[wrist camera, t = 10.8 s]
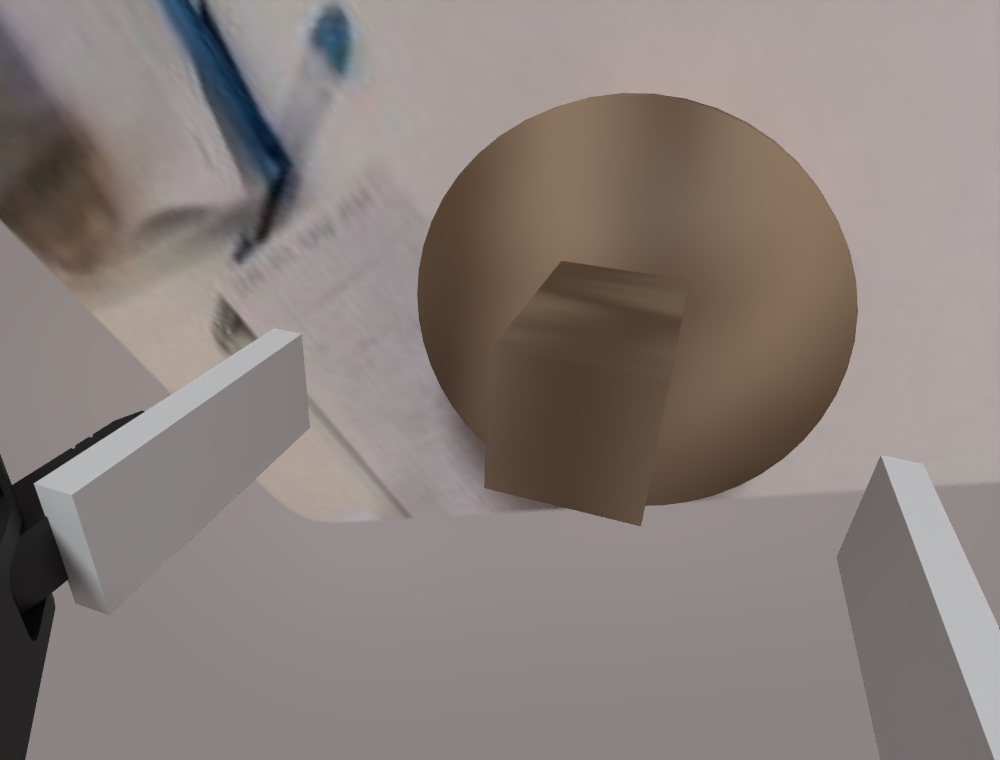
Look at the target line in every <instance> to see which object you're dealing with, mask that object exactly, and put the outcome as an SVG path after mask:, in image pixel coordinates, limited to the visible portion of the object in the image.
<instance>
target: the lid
mask: <svg viewBox="0 0 1000 760" xmlns="http://www.w3.org/2000/svg"><path fill="white" fill-rule="evenodd" d="M417 296H418V311H419V321H420V326H421V332H422V337H423V342H424V345H425V348H426V351H427V355H428V358H429V361H430V364H431V366H432V369H433V371H434V373H435V375H436V377H437V379H438V382H439V384H440V386H441V388H442V390H443V391H444V393H445V394H446V396H447V398H448V399H449V401H450V403H451V404H452V406H453V408H454V409H455V410H456V411H457V413H458V414H459V415H460V417H461V418H462V419H463V421H464V422H465V423H466V424H467V426H468V427H469V428H470V429H471V430H472V431H473V432H474V433H475V434H476V435H477V436H478V437H479V438H480V439H481V440H482V441H483V442H484V443H485V444H486V445H487V448H486V466H485V485H484V488H487V489H491V490H495V491H499V492H504V493H508V494H512V495H516V496H520V497H524V498H528V499H532V500H536V501H540V502H544V503H548V504H552V505H557V506H561V507H565V508H569V509H573V510H577V511H582V512H585V513H590V514H593V515H597V516H601V517H606V518H610V519H614V520H618V521H622V522H626V523H630V524H634V525H638V526H641V522H642V518H643V513H644V507H645V506H647V505H667V504H675V503H682V502H689V501H693V500H697V499H701V498H705V497H709V496H713V495H716V494H718V493H721V492H724V491H726V490H729V489H731V488H734V487H737V486H739V485H741V484H743V483H745V482H747V481H749V480H750V479H752V478H754V477H756V476H758V475H760V474H762V473H763V472H765V471H766V470H768V469H769V468H770V467H772V466H773V465H775V464H776V463H778V462H779V461H780V460H782V459H783V458H784V457H786V456H787V455H788V454H789V453H790V452H791V451H792V450H793V449H794V448H795V447H797V446H798V445H799V444H800V443H801V442H802V441H803V440H804V439H805V438H806V437H807V435H808V434H809V433H810V432H811V431H812V429H813V428H814V427H815V426H816V425H817V423H818V422H819V421H820V420H821V419H822V417H823V415H824V414H825V412H826V410H827V409H828V407H829V406H830V404H831V402H832V401H833V399H834V398H835V396H836V394H837V392H838V389H839V387H840V385H841V382H842V380H843V378H844V375H845V373H846V371H847V368H848V364H849V361H850V357H851V353H852V349H853V345H854V342H855V333H856V323H857V313H858V308H857V290H856V279H855V274H854V269H853V265H852V260H851V255H850V251H849V248H848V246H847V243H846V241H845V238H844V235H843V233H842V230H841V228H840V225H839V222H838V220H837V219H836V217H835V215H834V213H833V212H832V210H831V208H830V207H829V205H828V203H827V201H826V200H825V198H824V196H823V194H822V193H821V191H820V189H819V188H818V186H817V185H816V184H815V183H814V181H813V180H812V179H811V178H810V177H809V175H808V174H807V173H806V172H805V170H804V169H803V168H802V167H801V165H800V164H799V163H798V162H797V161H796V160H795V159H794V158H793V157H791V156H790V155H789V154H788V153H787V152H786V151H785V150H784V149H783V148H782V147H781V146H779V145H778V144H777V143H776V142H775V141H774V140H772V139H771V138H769V137H768V136H766V135H765V134H763V133H762V132H760V131H759V130H757V129H756V128H754V127H753V126H751V125H750V124H748V123H747V122H745V121H743V120H741V119H738V118H736V117H734V116H732V115H730V114H728V113H726V112H724V111H722V110H719V109H717V108H714V107H711V106H708V105H704V104H701V103H698V102H694V101H691V100H688V99H684V98H677V97H671V96H664V95H658V94H628V93H621V94H613V95H605V96H597V97H590V98H586V99H583V100H579V101H575V102H572V103H568V104H565V105H561V106H558V107H555V108H552V109H550V110H548V111H546V112H543V113H541V114H539V115H536V116H534V117H532V118H529V119H527V120H525V121H523V122H522V123H520V124H519V125H517V126H515V127H514V128H512V129H510V130H509V131H507V132H506V133H504V134H502V135H501V136H499V137H498V138H497V139H496V140H494V141H493V142H492V143H491V144H490V145H488V146H487V147H486V148H485V149H484V150H482V151H481V152H480V153H479V154H478V155H477V156H476V157H475V158H474V159H473V160H472V161H471V162H470V163H469V165H468V166H467V167H466V168H465V169H464V170H463V171H462V172H461V173H460V174H459V176H458V177H457V179H456V180H455V182H454V183H453V184H452V186H451V187H450V189H449V190H448V192H447V193H446V195H445V196H444V198H443V200H442V202H441V204H440V206H439V208H438V210H437V212H436V214H435V216H434V218H433V220H432V222H431V225H430V228H429V231H428V234H427V237H426V240H425V243H424V246H423V251H422V257H421V262H420V267H419V277H418V293H417Z"/></svg>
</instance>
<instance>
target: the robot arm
mask: <svg viewBox="0 0 1000 760" xmlns="http://www.w3.org/2000/svg"><path fill="white" fill-rule="evenodd" d="M309 428H310V425H309V413H308V402H307V390H306V379H305V367H304V356H303V344H302V334H300V333H295V332H290V331H285V330H281V329H276V328H274V329H272V330H271V331H269V332H268V333H266V334H265V335H263V336H261V337H260V338H258V339H257V340H255V341H254V342H252V343H251V344H249V345H248V346H246V347H244V348H243V349H241V350H240V351H238V352H237V353H235V354H234V355H232V356H231V357H229V358H227V359H226V360H224V361H223V362H221V363H220V364H218V365H217V366H215V367H213V368H212V369H210V370H209V371H207V372H206V373H204V374H203V375H201V376H200V377H198V378H196V379H195V380H193V381H192V382H190V383H189V384H187V385H186V386H184V387H183V388H181V389H179V390H178V391H176V392H175V393H173V394H172V395H170V396H169V397H167V398H165V399H164V400H162V401H161V402H160V403H158V404H156V405H155V406H153V407H152V408H150V409H148V410H147V411H140V412H137V413H134V414H132V415H129V416H127V417H124V418H121V419H118V420H115V421H113V422H112V423H110V424H109V425H107V426H106V427H104V428H102V429H101V430H99V431H98V432H96V433H94V434H93V437H92V438H91V437H88V438H87V439H85V440H83V441H82V442H80V443H79V444H77V445H76V446H75V448H74V449H72V448H71V449H69V450H67V451H66V452H64V453H63V454H61V455H59V456H58V457H56V458H55V459H53V460H52V461H50V462H49V463H47V464H45V465H44V466H42V467H41V468H39V469H37V470H35V471H34V472H33V473H31V474H29V475H28V476H26V477H24V478H23V479H21V480H20V481H18V482H16V483H15V484H13V485H12V484H11V482H10V479H9V476H8V474H7V471H6V468H5V466H4V463H3V460H2V458H1V455H0V760H25V757H26V753H27V748H28V743H29V738H30V732H31V728H32V723H33V717H34V712H35V707H36V702H37V697H38V692H39V687H40V682H41V677H42V672H43V667H44V662H45V657H46V652H47V647H48V642H49V637H50V632H51V627H52V622H53V617H54V611H55V603H54V597H53V595H52V592H53V591H54V590H56V589H57V588H58V587H59V586H61V585H62V584H63V583H64V582H65V581H67V580H68V582H69V585H70V588H71V591H72V594H73V597H74V600H75V603H76V604H79V605H82V606H85V607H88V608H90V609H93V610H96V611H99V612H102V613H105V614H108V615H111V614H112V613H113V612H114V611H115V610H116V609H117V608H118V607H119V606H121V605H122V604H123V603H124V602H125V601H126V600H127V599H128V598H129V597H130V596H131V595H132V594H133V593H134V592H135V591H137V590H138V589H139V588H140V587H141V586H142V585H143V584H144V583H145V582H146V581H147V580H148V579H149V578H150V577H151V576H152V575H154V574H155V573H156V572H157V571H158V570H159V569H160V568H161V567H162V566H163V565H164V564H165V563H166V562H167V561H168V560H169V559H171V558H172V557H173V556H174V555H175V554H176V553H177V552H178V551H179V550H180V549H181V548H182V547H183V546H184V545H185V544H187V543H188V542H189V541H190V540H191V539H192V538H193V537H194V536H195V535H196V534H197V533H198V532H199V531H200V530H201V529H203V528H204V526H206V525H207V524H208V523H209V522H210V521H211V520H212V519H213V518H214V517H215V516H216V515H217V514H218V513H220V512H221V511H222V510H223V509H224V508H225V507H226V506H227V505H228V504H229V503H230V502H231V501H232V500H233V499H234V498H235V497H237V495H239V494H240V493H241V492H242V491H243V490H244V489H245V488H246V487H247V486H248V485H249V484H250V483H251V482H252V481H254V480H255V479H256V478H257V477H258V476H259V475H260V474H261V473H262V472H263V471H264V470H265V469H266V468H267V467H268V466H270V465H271V464H272V463H273V462H274V461H275V460H276V459H277V458H278V457H279V456H280V455H281V454H282V453H283V452H284V451H285V450H287V449H288V448H289V447H290V446H291V445H292V444H293V443H294V442H295V441H296V440H297V439H298V438H299V437H300V436H301V435H302V434H304V433H305V432H306V431H307V430H308V429H309ZM837 560H838V565H839V570H840V574H841V579H842V584H843V588H844V593H845V598H846V602H847V606H848V612H849V616H850V621H851V626H852V630H853V634H854V640H855V644H856V649H857V653H858V658H859V663H860V667H861V672H862V676H863V681H864V686H865V690H866V695H867V700H868V705H869V709H870V714H871V718H872V723H873V728H874V733H875V737H876V742H877V747H878V751H879V756H880V760H1000V628H999V627H998V625H997V623H996V621H995V619H994V616H993V614H992V612H991V610H990V607H989V606H988V603H987V601H986V599H985V597H984V595H983V592H982V590H981V588H980V586H979V584H978V582H977V579H976V577H975V575H974V573H973V571H972V569H971V567H970V564H969V562H968V560H967V558H966V556H965V554H964V551H963V549H962V547H961V545H960V543H959V541H958V538H957V536H956V534H955V532H954V530H953V528H952V525H951V524H950V521H949V519H948V517H947V515H946V513H945V511H944V508H943V506H942V504H941V502H940V500H939V497H938V495H937V493H936V491H935V489H934V487H933V484H932V482H931V480H930V478H929V476H928V474H927V472H926V469H925V467H924V465H923V464H921V463H916V462H911V461H906V460H902V459H897V458H892V457H887V456H882V455H881V456H880V459H879V461H878V463H877V465H876V468H875V470H874V472H873V475H872V477H871V479H870V482H869V484H868V486H867V488H866V491H865V493H864V495H863V498H862V500H861V502H860V505H859V507H858V509H857V511H856V514H855V516H854V518H853V521H852V523H851V525H850V528H849V530H848V532H847V535H846V537H845V539H844V542H843V544H842V546H841V548H840V551H839V553H838V556H837Z"/></svg>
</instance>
